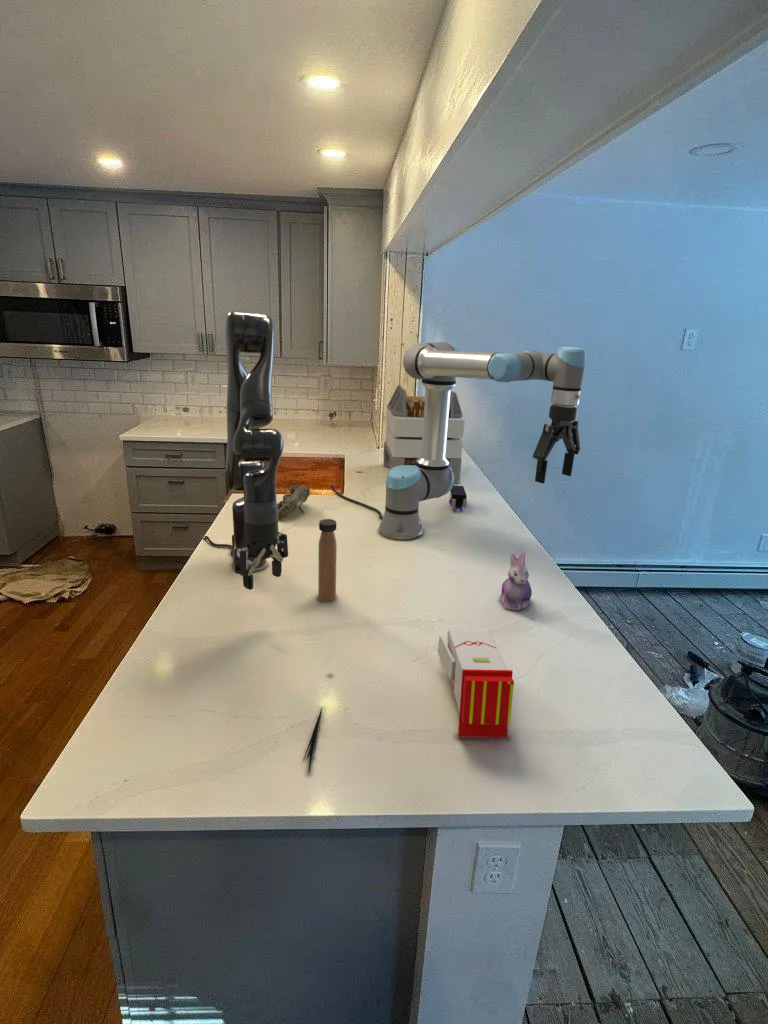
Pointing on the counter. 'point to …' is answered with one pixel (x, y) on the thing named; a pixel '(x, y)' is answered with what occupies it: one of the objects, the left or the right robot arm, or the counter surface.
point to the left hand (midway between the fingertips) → (263, 582)
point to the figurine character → (458, 497)
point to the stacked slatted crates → (419, 431)
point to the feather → (313, 740)
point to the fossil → (292, 501)
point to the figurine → (516, 584)
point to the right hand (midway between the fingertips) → (553, 478)
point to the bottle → (327, 566)
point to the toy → (478, 682)
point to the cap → (327, 525)
